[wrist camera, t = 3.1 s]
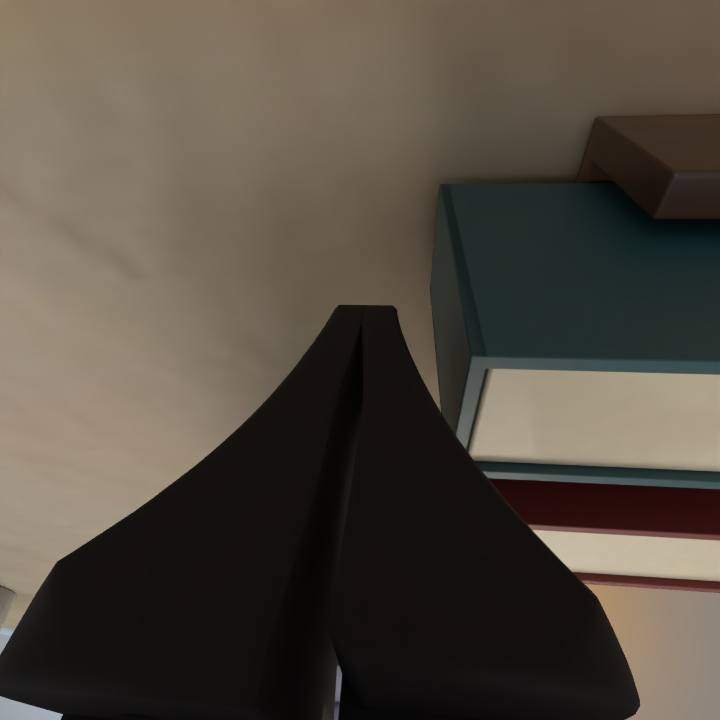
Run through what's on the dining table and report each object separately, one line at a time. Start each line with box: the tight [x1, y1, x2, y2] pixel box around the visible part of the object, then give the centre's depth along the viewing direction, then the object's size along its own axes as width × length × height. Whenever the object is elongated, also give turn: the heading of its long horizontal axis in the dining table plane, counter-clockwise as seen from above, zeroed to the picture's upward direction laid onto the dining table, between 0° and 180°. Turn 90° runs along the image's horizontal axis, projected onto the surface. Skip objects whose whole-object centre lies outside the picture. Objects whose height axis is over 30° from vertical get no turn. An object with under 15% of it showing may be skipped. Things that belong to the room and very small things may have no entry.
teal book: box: [430, 183, 720, 489], centre depth 10 cm, size 4×9×8 cm, turn 92°
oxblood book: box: [488, 478, 720, 593], centre depth 14 cm, size 4×9×8 cm, turn 92°
